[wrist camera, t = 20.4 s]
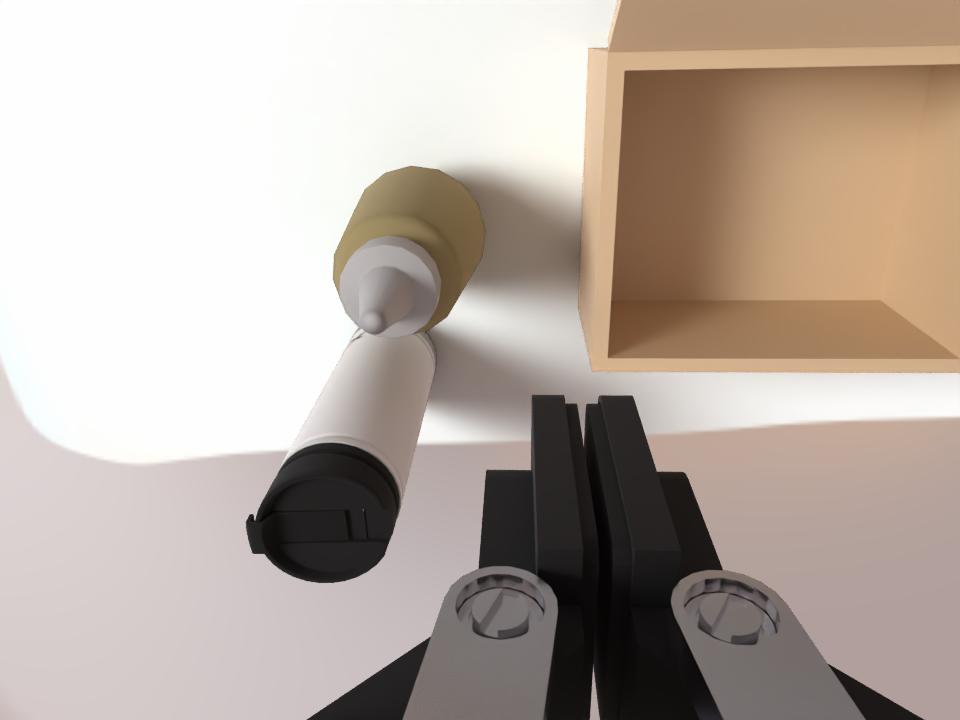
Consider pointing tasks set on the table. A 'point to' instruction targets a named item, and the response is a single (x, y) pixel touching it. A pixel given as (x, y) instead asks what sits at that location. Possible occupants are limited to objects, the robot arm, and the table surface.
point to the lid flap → (781, 24)
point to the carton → (772, 210)
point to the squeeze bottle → (408, 252)
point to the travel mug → (348, 463)
